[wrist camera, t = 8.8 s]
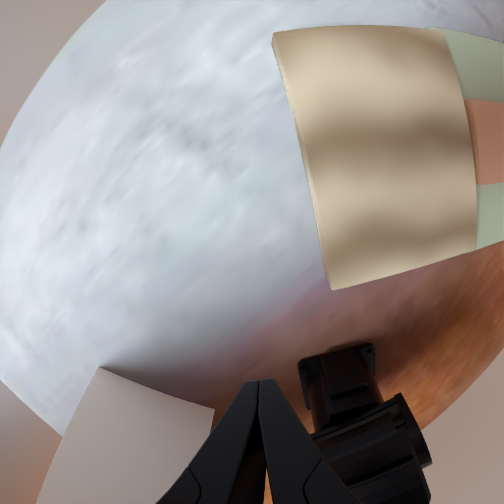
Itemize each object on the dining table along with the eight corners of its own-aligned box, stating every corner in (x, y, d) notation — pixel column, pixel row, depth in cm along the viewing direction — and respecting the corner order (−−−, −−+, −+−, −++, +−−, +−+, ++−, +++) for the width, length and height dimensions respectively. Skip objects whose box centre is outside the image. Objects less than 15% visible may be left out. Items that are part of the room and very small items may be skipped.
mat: (535, 225, 17) (537, 226, 17) (463, 251, 19) (466, 253, 18) (511, 47, 12) (513, 46, 11) (425, 27, 13) (428, 26, 12)
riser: (462, 240, 18) (476, 248, 16) (325, 277, 19) (332, 290, 18) (428, 38, 13) (442, 31, 11) (271, 44, 14) (273, 32, 12)
